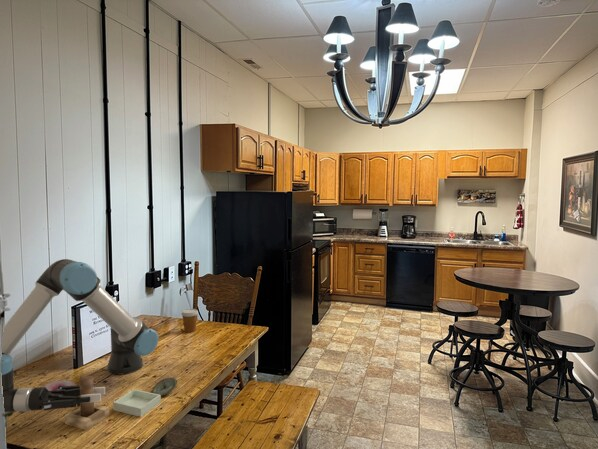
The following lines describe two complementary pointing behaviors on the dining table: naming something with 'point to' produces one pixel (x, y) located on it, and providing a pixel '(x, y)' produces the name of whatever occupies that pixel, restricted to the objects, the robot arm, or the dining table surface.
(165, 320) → the dining table surface
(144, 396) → the tray
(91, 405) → the dowel
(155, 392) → the lid
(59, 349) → the dining table surface
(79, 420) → the square wooden peg frame
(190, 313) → the disposable coffee cup
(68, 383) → the donut
